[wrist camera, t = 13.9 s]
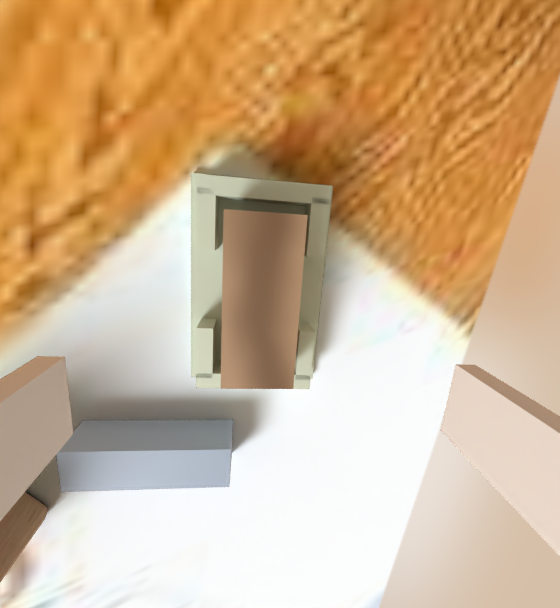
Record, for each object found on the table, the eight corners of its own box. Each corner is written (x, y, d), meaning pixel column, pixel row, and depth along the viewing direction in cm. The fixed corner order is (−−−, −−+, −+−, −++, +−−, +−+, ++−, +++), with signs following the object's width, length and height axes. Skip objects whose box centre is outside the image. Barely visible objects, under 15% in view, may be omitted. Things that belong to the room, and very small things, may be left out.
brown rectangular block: (226, 353, 31) (220, 388, 24) (229, 213, 28) (223, 209, 21) (283, 354, 32) (293, 388, 25) (293, 218, 28) (307, 215, 22)
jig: (192, 373, 32) (185, 392, 28) (192, 174, 27) (184, 165, 24) (310, 375, 34) (318, 393, 30) (330, 186, 29) (342, 181, 25)
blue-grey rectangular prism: (88, 453, 33) (61, 491, 29) (84, 418, 32) (55, 452, 28) (231, 451, 35) (229, 486, 30) (232, 418, 34) (230, 449, 29)
